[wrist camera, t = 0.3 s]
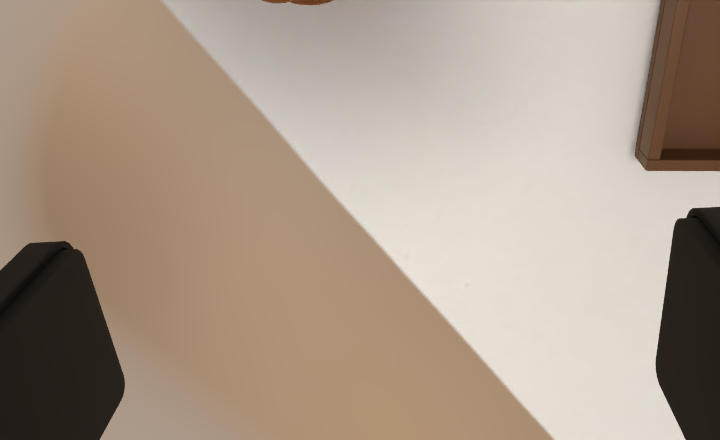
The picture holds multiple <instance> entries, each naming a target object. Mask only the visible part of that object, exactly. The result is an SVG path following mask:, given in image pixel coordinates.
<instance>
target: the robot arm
mask: <svg viewBox="0 0 720 440" xmlns="http://www.w3.org/2000/svg"><path fill="white" fill-rule="evenodd" d="M656 373H657V378H658V382H659V385H660V387H661V389H662V391H663V393H664V395H665V397H666V399H667V401H668V404H669V406H670V408H671V410H672V412H673V414H674V416H675V418H676V420H677V422H678V424H679V427H680V429H681V431H682V433H683V435H684V437H685V439H686V440H720V207H710V208H692V209H691V210H690V211H689V213H688V215H687V218H681V219H678V220H677V221H676V223H675V226H674V231H673V238H672V246H671V253H670V260H669V267H668V275H667V282H666V289H665V297H664V304H663V311H662V319H661V326H660V333H659V341H658V348H657V355H656ZM124 388H125V381H124V375H123V372H122V369H121V366H120V363H119V360H118V357H117V354H116V351H115V348H114V345H113V342H112V339H111V336H110V333H109V330H108V327H107V324H106V321H105V318H104V315H103V312H102V309H101V306H100V303H99V300H98V297H97V294H96V291H95V288H94V285H93V282H92V279H91V276H90V273H89V270H88V267H87V264H86V261H85V258H84V256H83V254H82V253H81V251H79V250H77V249H73V247H72V246H71V245H70V244H69V243H68V242H66V241H61V242H42V243H30V244H28V245H26V246H25V247H24V248H23V249H22V250H21V251H20V252H19V253H18V254H17V255H16V256H15V257H14V258H13V259H12V260H11V261H10V262H9V263H8V264H7V265H6V266H4V267H3V268H2V270H0V440H100V438H101V436H102V434H103V432H104V430H105V429H106V427H107V425H108V423H109V421H110V419H111V418H112V416H113V414H114V412H115V410H116V408H117V407H118V405H119V403H120V401H121V399H122V397H123V393H124Z"/></svg>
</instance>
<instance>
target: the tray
mask: <svg viewBox="0 0 720 440" xmlns="http://www.w3.org/2000/svg"><path fill="white" fill-rule="evenodd" d="M635 157H636V158H637V159H638V161H639V162H640V163H641V165H642V166H643V167H644V168H645V170H647V171H720V0H662V1H661V7H660V12H659V18H658V24H657V30H656V36H655V41H654V47H653V53H652V59H651V64H650V70H649V76H648V82H647V88H646V93H645V99H644V105H643V111H642V116H641V122H640V128H639V134H638V140H637V145H636V151H635Z"/></svg>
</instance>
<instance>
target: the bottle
mask: <svg viewBox="0 0 720 440" xmlns="http://www.w3.org/2000/svg"><path fill="white" fill-rule="evenodd" d="M263 1H266V2H270V3H286V2H292V3H295V4H300V5H320V4H324V3H328V2H331V1H333V0H263Z"/></svg>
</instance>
